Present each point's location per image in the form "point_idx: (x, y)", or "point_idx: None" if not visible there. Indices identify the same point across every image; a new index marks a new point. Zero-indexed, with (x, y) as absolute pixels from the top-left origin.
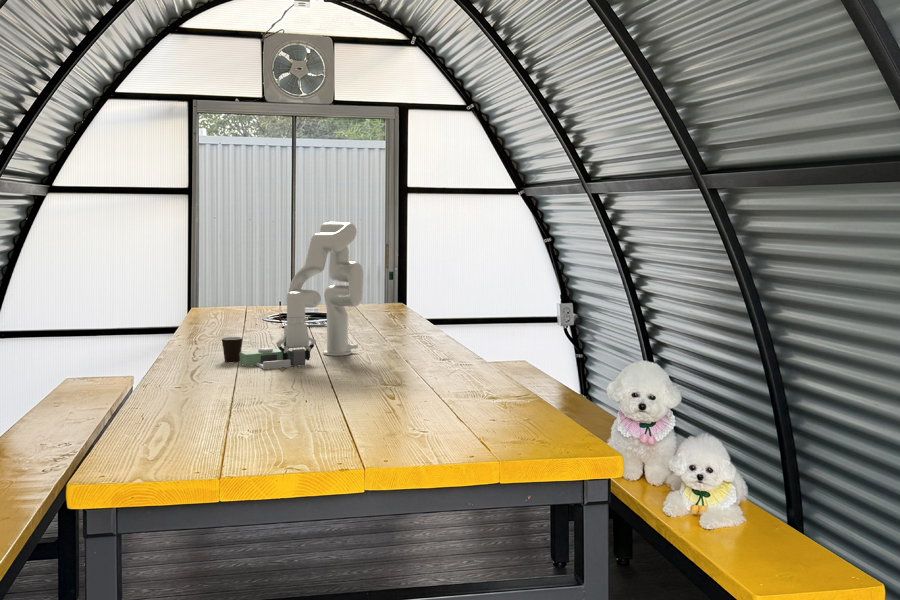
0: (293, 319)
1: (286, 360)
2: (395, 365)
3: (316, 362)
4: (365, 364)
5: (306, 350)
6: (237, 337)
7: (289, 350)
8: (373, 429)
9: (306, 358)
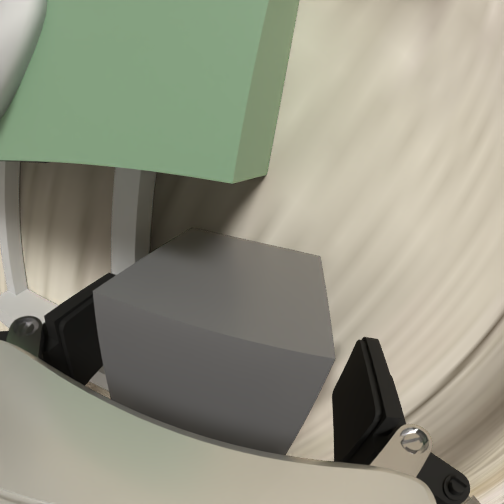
0: None
1: (94, 382)
2: (477, 490)
3: (434, 347)
4: (471, 470)
5: (365, 446)
6: None
7: (105, 345)
8: None
9: (345, 378)
